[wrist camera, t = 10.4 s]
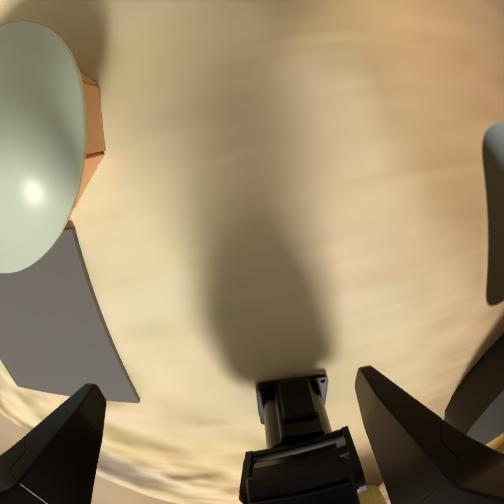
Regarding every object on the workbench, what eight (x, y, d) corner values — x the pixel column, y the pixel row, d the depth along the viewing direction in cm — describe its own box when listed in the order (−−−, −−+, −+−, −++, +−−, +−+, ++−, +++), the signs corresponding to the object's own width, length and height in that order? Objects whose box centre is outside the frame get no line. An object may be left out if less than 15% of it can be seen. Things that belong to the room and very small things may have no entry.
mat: (140, 399, 26) (139, 403, 25) (19, 383, 25) (17, 386, 25) (74, 227, 19) (71, 229, 18) (-45, 251, 18) (-48, 253, 18)
